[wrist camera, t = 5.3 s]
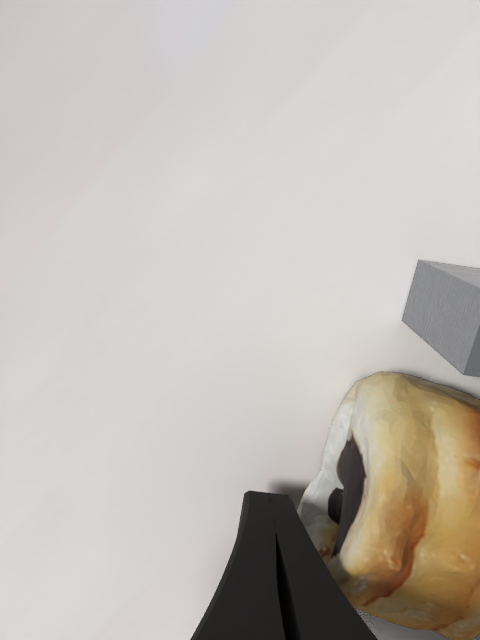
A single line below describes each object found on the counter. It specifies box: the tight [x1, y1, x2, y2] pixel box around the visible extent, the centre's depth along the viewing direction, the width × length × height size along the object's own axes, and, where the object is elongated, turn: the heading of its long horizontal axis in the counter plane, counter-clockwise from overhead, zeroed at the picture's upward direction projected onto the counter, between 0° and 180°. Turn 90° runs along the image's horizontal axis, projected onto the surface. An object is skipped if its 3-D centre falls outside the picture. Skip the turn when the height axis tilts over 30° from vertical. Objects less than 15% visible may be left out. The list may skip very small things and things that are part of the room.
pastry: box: [297, 371, 480, 640], centre depth 11 cm, size 9×7×4 cm
